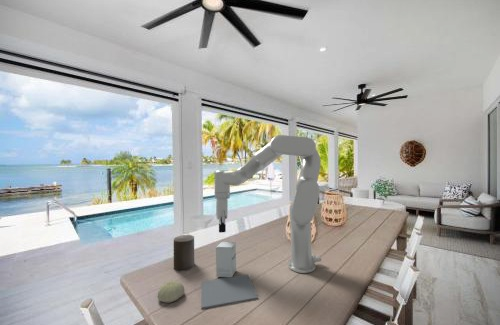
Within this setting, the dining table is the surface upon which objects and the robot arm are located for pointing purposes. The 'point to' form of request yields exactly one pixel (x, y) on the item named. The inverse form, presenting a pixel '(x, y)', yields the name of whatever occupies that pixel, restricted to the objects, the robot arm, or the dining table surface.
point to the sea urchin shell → (170, 291)
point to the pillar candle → (183, 252)
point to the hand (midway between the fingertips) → (222, 231)
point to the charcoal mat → (227, 291)
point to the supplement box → (226, 259)
